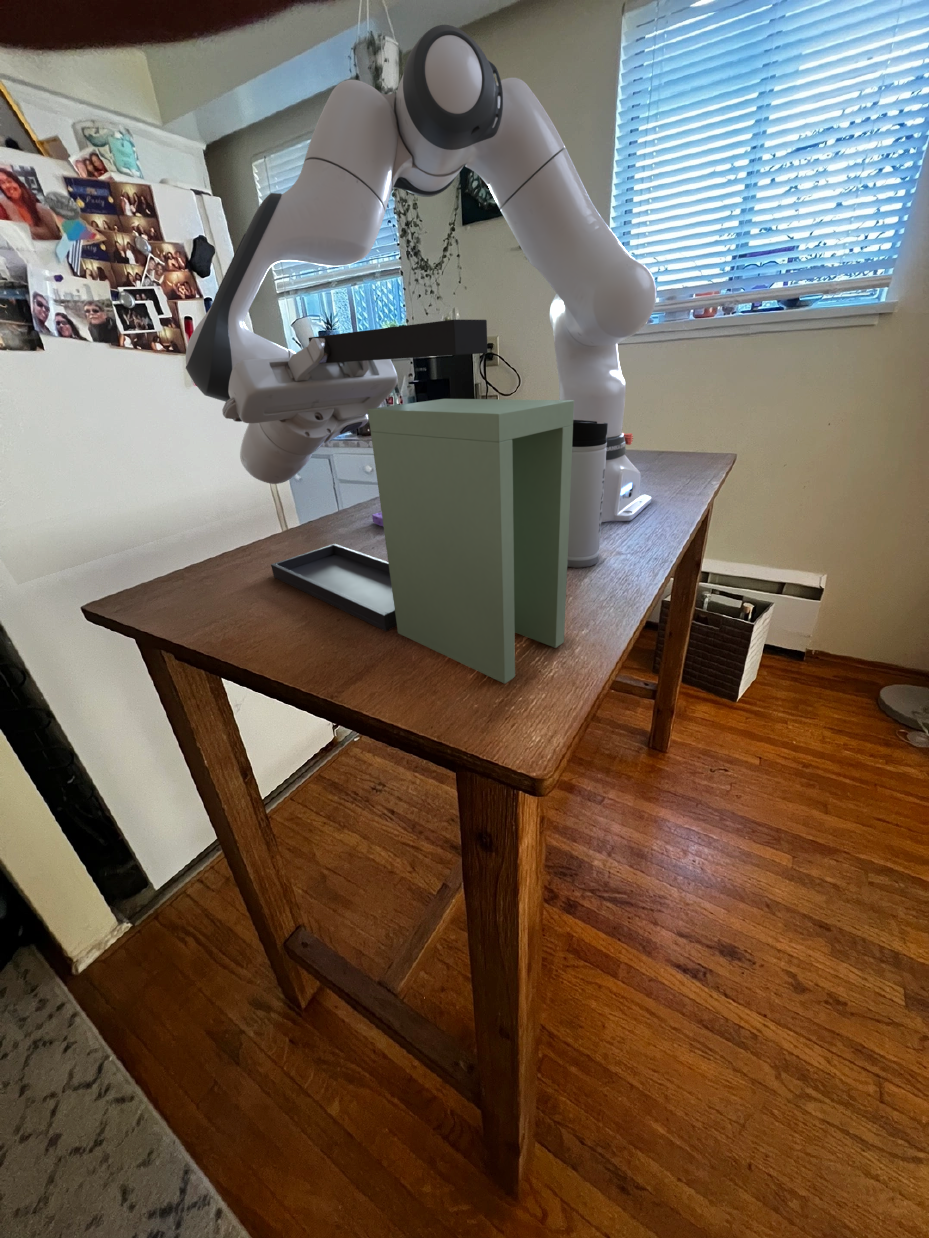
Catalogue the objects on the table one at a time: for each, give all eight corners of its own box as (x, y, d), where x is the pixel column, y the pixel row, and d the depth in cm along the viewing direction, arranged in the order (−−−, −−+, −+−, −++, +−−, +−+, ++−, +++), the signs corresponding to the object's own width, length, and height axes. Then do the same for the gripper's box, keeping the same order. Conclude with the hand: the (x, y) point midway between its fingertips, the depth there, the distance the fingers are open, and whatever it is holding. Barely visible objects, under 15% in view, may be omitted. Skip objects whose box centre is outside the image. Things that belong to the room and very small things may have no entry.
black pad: (343, 362, 57) (339, 337, 56) (487, 353, 43) (487, 319, 42) (312, 363, 55) (308, 337, 54) (455, 355, 41) (453, 319, 40)
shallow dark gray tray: (336, 555, 82) (334, 543, 81) (453, 598, 65) (452, 583, 64) (273, 577, 76) (270, 564, 75) (386, 631, 58) (383, 615, 57)
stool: (458, 602, 64) (444, 398, 53) (564, 642, 54) (574, 400, 43) (397, 633, 58) (367, 409, 47) (504, 684, 48) (498, 413, 37)
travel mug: (545, 558, 76) (548, 417, 67) (581, 550, 78) (589, 412, 69) (569, 571, 71) (575, 421, 62) (607, 562, 73) (619, 415, 64)
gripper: (206, 395, 57) (236, 314, 46) (355, 381, 70) (405, 315, 59) (231, 447, 57) (266, 379, 47) (374, 424, 70) (427, 366, 59)
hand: (345, 343), depth 53 cm, fingers closed on black pad, 4 cm apart
